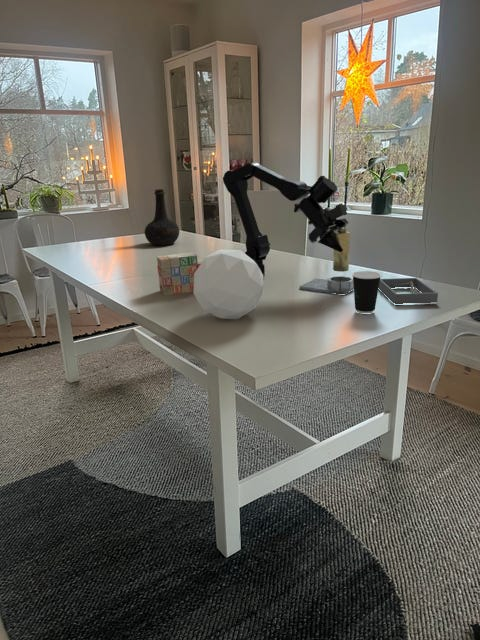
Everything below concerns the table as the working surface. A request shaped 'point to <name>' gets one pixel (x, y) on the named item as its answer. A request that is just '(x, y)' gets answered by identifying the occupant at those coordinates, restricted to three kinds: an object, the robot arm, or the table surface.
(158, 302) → the table surface
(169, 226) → the glass bottle
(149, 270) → the table surface
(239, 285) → the ball
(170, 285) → the stack of blocks
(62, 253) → the table surface
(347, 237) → the gold capped bottle
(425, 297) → the tray
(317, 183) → the robot arm
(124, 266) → the table surface
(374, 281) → the dixie cup
